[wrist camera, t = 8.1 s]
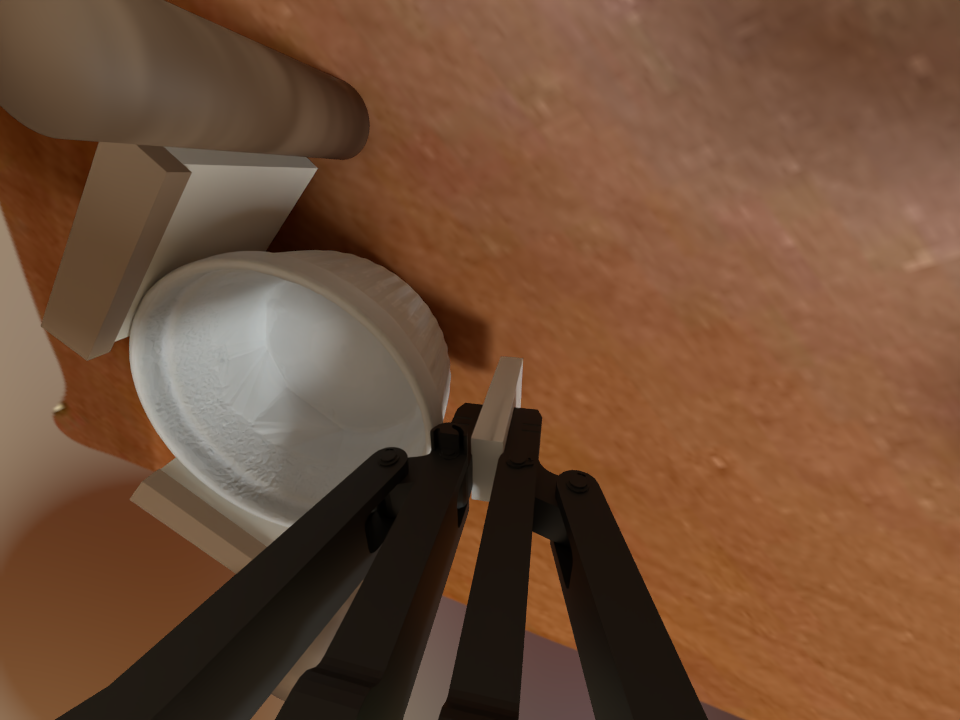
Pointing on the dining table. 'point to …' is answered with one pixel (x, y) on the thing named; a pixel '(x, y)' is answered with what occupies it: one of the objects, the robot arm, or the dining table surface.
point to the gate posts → (172, 102)
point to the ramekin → (286, 372)
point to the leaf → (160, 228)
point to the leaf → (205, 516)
